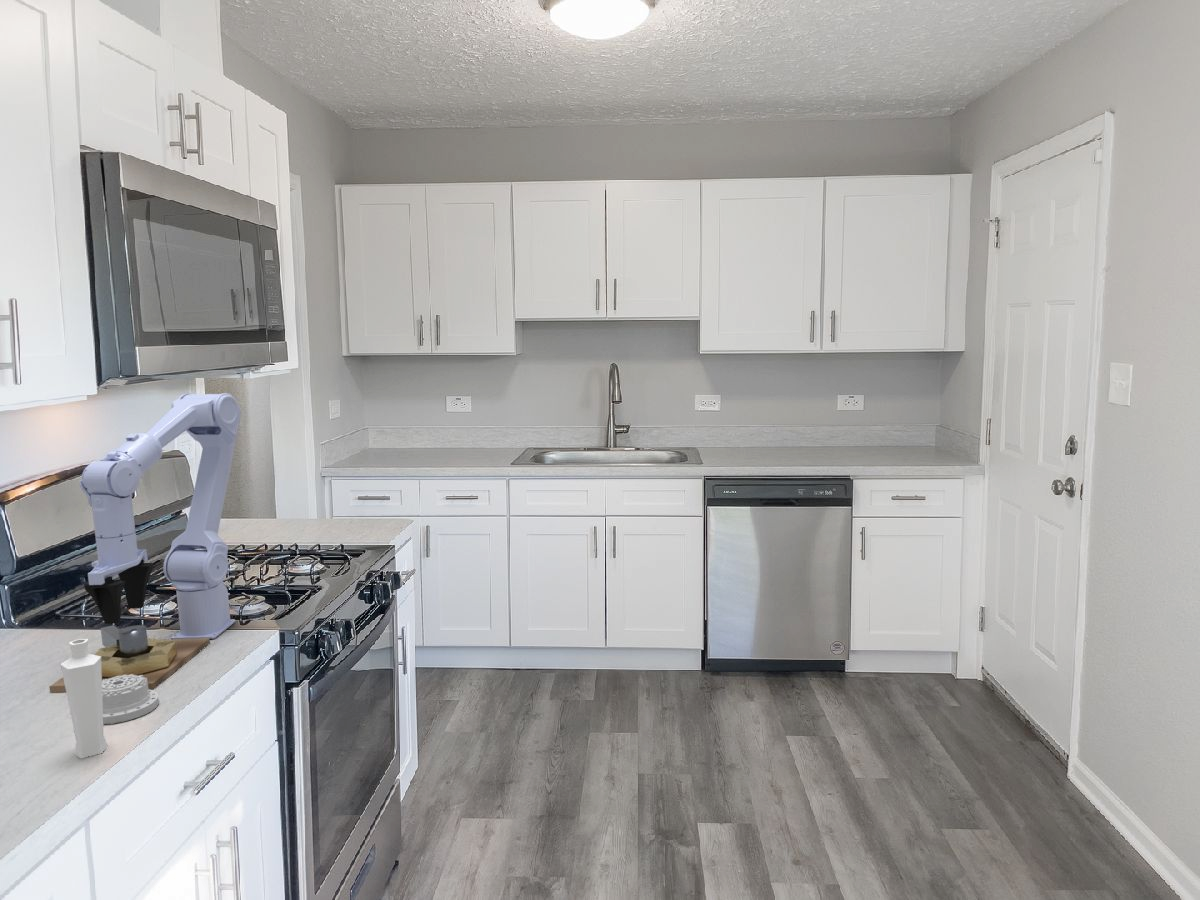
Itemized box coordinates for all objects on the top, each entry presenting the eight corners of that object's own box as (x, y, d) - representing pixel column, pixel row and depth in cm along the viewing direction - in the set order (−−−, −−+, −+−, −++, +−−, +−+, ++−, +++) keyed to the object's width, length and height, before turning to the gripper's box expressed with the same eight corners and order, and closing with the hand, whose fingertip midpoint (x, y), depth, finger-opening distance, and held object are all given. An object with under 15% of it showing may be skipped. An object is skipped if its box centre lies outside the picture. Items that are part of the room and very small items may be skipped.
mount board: (119, 646, 157) (118, 640, 157) (209, 643, 157) (209, 637, 156) (50, 692, 137) (49, 685, 137) (153, 689, 137) (152, 682, 137)
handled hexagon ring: (189, 660, 145) (188, 642, 145) (99, 684, 136) (97, 666, 135) (149, 633, 159) (148, 617, 159) (65, 653, 150) (63, 636, 150)
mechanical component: (93, 702, 133) (72, 730, 124) (90, 674, 133) (68, 700, 123) (165, 694, 136) (150, 721, 126) (163, 666, 135) (147, 691, 125)
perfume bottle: (117, 749, 117) (105, 640, 115) (80, 762, 114) (67, 649, 112) (104, 739, 120) (92, 632, 118) (68, 751, 117) (55, 642, 115)
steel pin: (128, 660, 146) (125, 625, 146) (153, 659, 147) (150, 624, 146) (117, 670, 143) (113, 634, 142) (143, 668, 143) (139, 632, 142)
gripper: (114, 524, 150) (123, 602, 152) (64, 546, 136) (74, 631, 138) (156, 523, 150) (164, 600, 152) (110, 544, 136) (120, 629, 138)
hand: (124, 615), depth 145 cm, fingers open, 7 cm apart
